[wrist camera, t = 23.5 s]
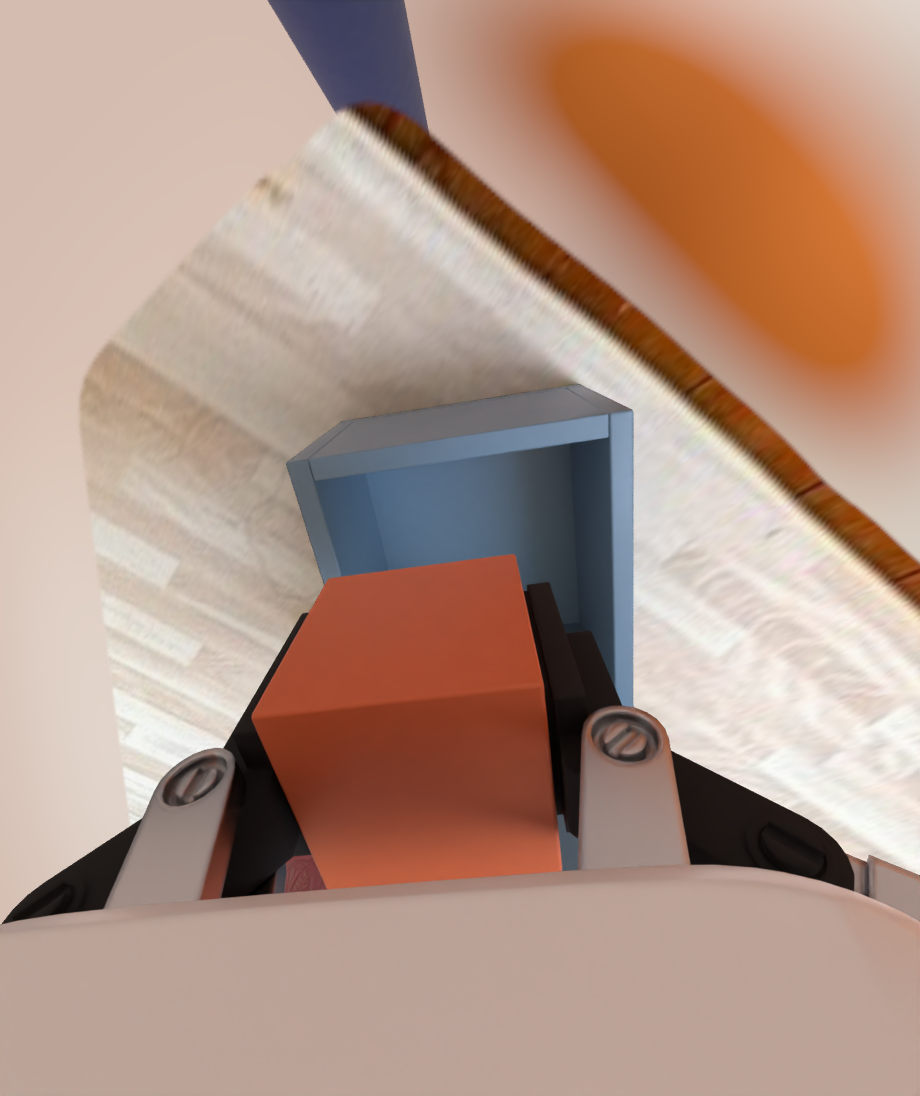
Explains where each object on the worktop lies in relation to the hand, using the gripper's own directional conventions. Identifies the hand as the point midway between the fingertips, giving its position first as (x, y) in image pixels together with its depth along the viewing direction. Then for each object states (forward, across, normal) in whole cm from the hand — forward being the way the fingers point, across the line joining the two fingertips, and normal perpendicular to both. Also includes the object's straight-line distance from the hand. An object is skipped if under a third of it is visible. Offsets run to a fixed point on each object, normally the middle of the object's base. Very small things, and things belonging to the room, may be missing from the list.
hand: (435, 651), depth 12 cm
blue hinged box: (+14, -1, +3) cm, 14 cm away
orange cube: (0, 0, 0) cm, 0 cm away
